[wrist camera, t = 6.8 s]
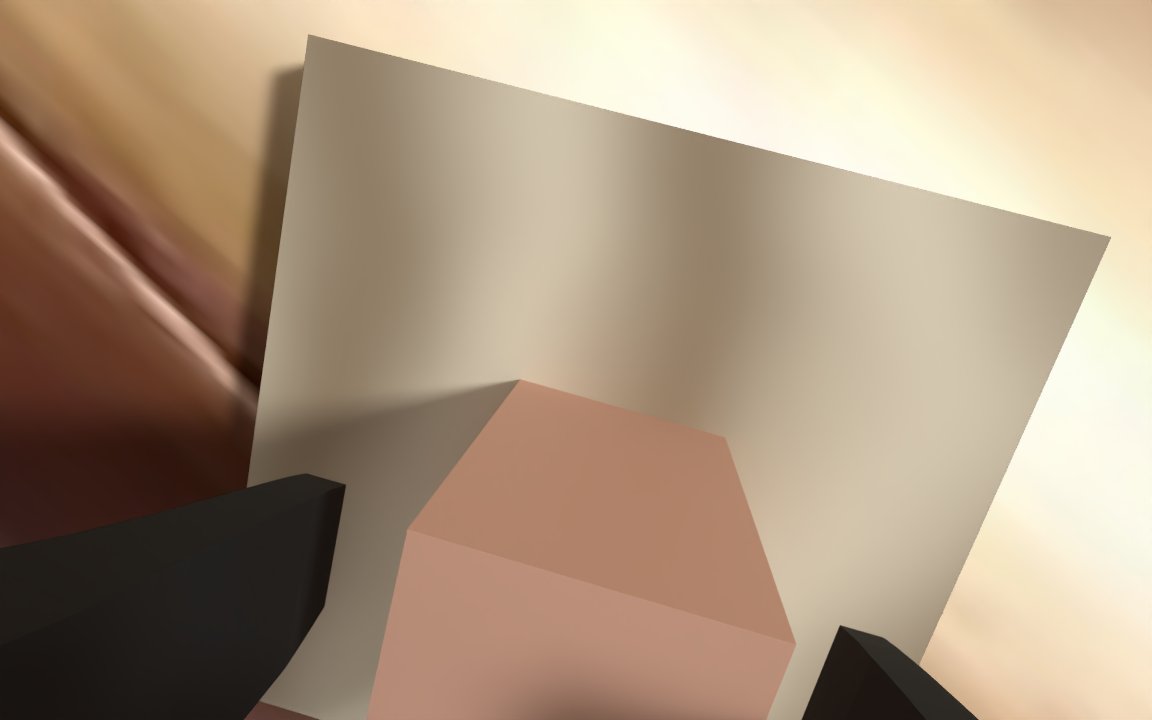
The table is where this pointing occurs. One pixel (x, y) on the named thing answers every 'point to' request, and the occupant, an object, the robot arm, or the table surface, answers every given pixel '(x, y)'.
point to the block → (584, 577)
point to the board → (643, 338)
